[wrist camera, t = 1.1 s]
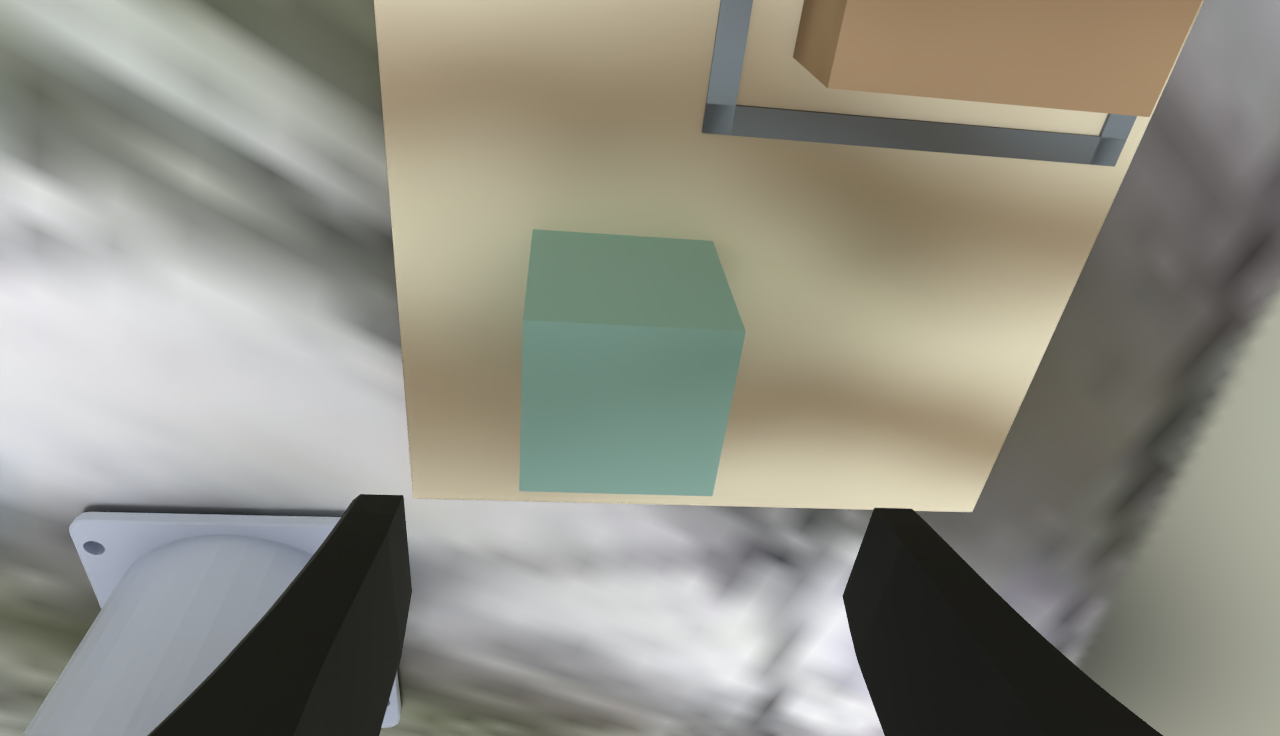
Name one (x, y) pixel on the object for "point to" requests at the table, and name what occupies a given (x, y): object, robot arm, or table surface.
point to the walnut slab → (999, 49)
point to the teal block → (625, 364)
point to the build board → (733, 237)
